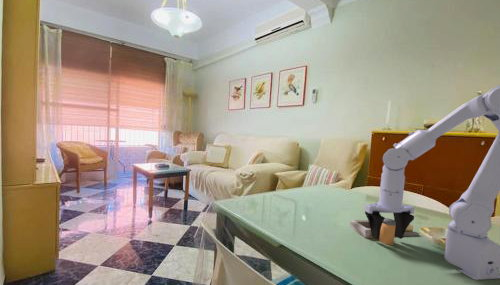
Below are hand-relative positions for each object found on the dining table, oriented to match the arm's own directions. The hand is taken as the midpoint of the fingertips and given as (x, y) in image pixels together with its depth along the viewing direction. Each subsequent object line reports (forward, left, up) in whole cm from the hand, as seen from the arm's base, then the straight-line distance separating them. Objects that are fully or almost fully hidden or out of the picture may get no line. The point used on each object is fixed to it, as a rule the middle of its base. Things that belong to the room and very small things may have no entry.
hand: (386, 237), depth 68 cm
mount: (+6, -6, -2) cm, 8 cm away
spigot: (0, 0, -2) cm, 2 cm away
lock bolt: (+6, -10, -1) cm, 12 cm away
